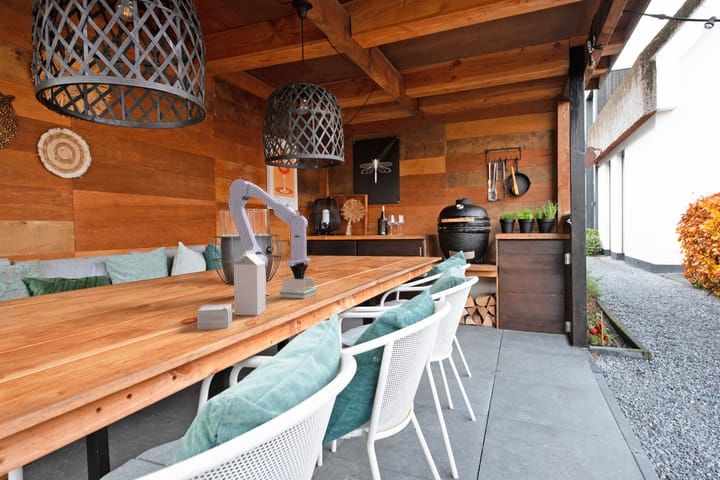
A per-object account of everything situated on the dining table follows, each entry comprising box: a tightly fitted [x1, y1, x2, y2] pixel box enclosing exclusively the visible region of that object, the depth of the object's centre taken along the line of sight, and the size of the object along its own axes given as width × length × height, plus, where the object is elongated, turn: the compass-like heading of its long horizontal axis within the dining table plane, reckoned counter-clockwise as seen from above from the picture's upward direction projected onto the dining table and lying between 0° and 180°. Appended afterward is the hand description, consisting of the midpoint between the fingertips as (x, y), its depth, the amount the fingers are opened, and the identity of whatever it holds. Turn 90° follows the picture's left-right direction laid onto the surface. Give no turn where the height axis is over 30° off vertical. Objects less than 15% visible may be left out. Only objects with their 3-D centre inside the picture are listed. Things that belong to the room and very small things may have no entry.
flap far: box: [291, 276, 316, 288], centre depth 154 cm, size 1×9×4 cm, turn 71°
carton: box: [279, 286, 318, 300], centre depth 151 cm, size 10×10×3 cm
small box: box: [196, 303, 233, 330], centre depth 106 cm, size 8×8×5 cm
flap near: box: [280, 278, 306, 290], centre depth 147 cm, size 1×9×4 cm, turn 71°
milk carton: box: [233, 250, 266, 316], centre depth 120 cm, size 7×7×19 cm
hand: (299, 283), depth 151 cm, fingers closed
